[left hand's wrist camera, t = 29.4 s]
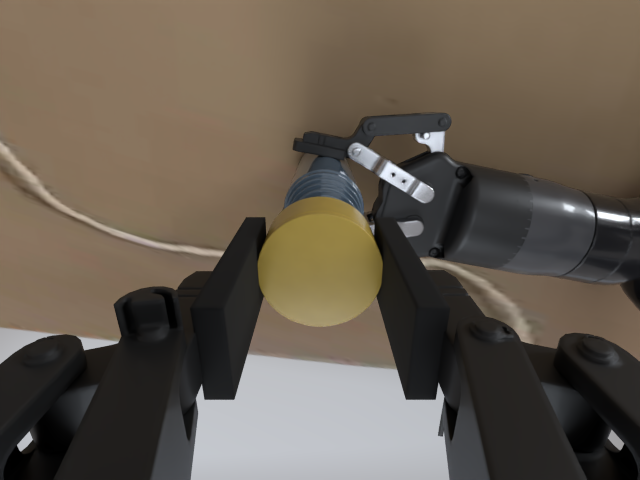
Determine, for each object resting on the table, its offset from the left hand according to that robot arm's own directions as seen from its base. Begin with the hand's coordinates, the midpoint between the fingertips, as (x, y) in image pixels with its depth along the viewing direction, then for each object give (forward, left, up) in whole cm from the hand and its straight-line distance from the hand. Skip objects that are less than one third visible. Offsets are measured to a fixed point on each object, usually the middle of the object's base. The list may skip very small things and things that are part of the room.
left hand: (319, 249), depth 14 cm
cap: (0, 0, +2) cm, 2 cm away
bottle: (0, 0, -19) cm, 19 cm away
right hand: (-2, 0, -13) cm, 13 cm away
